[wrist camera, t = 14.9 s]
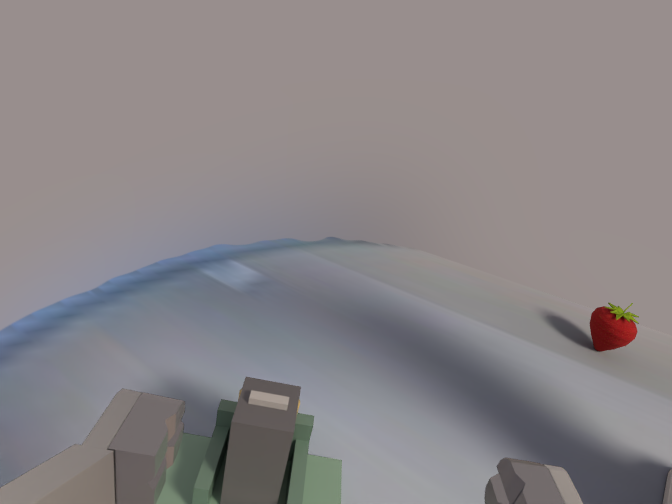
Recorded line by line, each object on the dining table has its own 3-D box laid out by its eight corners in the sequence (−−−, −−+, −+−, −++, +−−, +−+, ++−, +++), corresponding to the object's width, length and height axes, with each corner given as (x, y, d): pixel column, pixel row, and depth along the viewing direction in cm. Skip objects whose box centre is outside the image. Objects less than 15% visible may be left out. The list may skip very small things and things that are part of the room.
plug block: (274, 514, 35) (295, 426, 31) (219, 505, 35) (232, 415, 30) (282, 465, 39) (302, 381, 35) (233, 457, 39) (246, 371, 34)
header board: (334, 615, 31) (360, 552, 27) (114, 582, 30) (111, 513, 26) (339, 466, 42) (358, 407, 38) (177, 438, 41) (181, 375, 37)
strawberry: (597, 337, 76) (626, 291, 71) (627, 366, 69) (660, 317, 65) (569, 334, 75) (596, 286, 70) (597, 363, 68) (628, 313, 64)
